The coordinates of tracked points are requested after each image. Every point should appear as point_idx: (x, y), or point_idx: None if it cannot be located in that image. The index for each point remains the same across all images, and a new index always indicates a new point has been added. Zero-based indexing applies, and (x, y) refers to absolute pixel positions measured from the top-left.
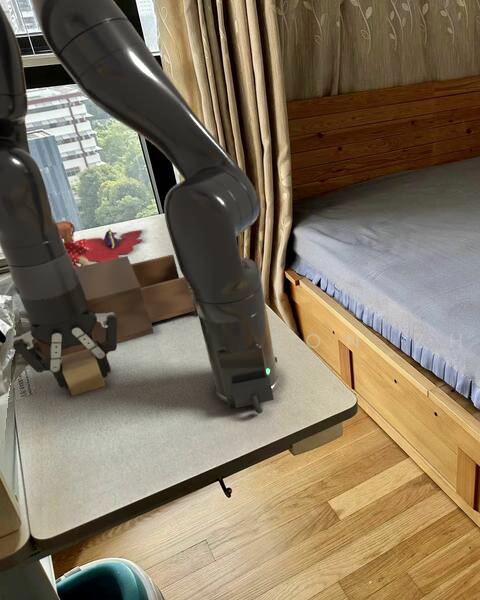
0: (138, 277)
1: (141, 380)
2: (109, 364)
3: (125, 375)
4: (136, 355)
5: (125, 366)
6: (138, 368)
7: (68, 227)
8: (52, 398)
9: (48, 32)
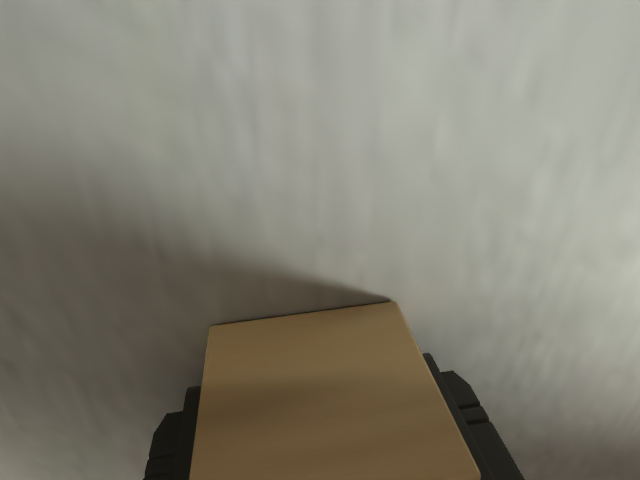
0: None
1: (537, 432)
2: (472, 394)
3: (492, 380)
4: (612, 221)
5: (518, 308)
6: (564, 348)
7: None
8: (133, 435)
9: None
